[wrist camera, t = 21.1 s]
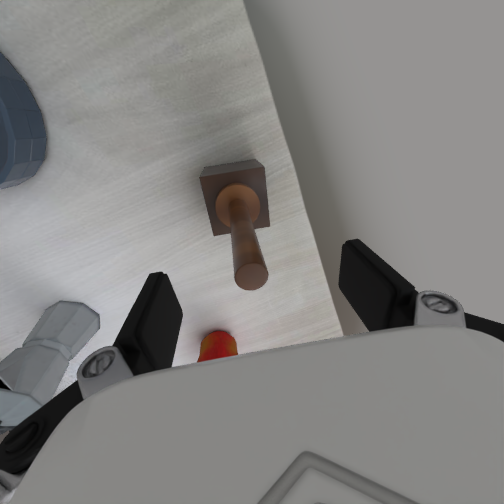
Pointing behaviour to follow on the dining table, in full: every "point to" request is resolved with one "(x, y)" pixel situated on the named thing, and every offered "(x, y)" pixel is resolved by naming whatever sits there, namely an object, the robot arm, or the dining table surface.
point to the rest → (227, 174)
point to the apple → (217, 346)
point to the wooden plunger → (243, 233)
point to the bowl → (18, 129)
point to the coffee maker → (43, 360)
